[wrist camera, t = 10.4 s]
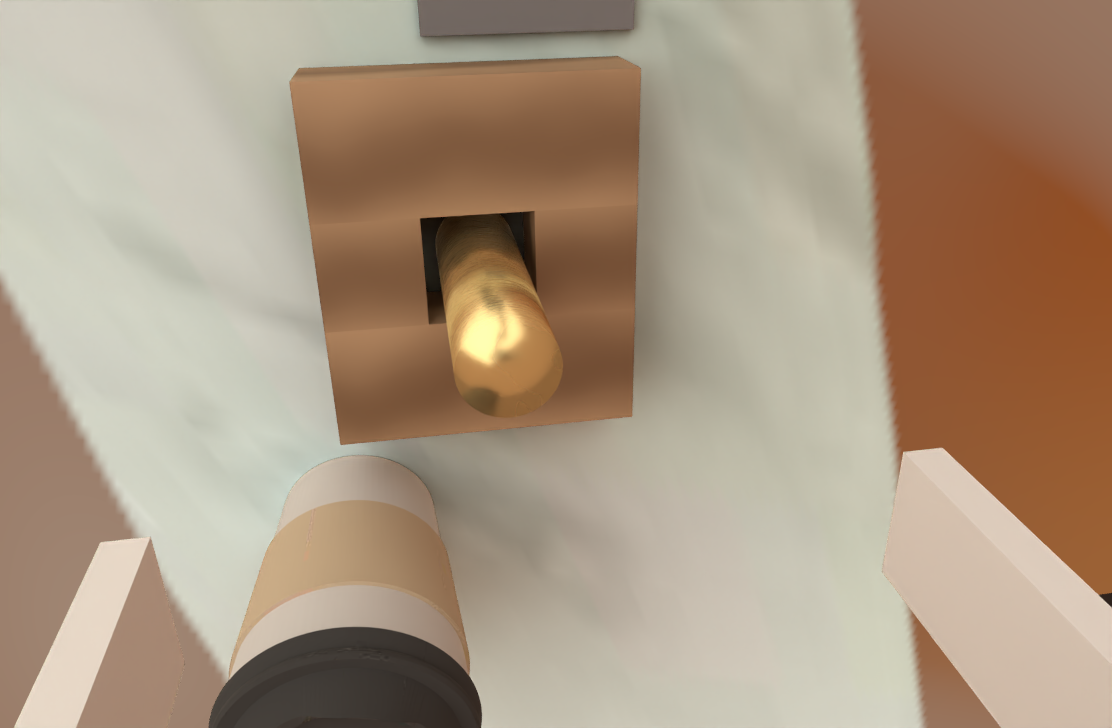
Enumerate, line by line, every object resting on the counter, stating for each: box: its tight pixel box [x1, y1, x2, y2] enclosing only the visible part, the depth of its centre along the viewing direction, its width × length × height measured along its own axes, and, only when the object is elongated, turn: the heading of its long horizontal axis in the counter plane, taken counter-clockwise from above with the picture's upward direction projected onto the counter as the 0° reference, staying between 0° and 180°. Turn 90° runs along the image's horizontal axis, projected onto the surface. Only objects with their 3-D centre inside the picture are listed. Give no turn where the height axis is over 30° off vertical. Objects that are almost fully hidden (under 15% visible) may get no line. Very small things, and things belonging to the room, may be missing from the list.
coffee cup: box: [209, 455, 482, 728], centre depth 35 cm, size 9×9×15 cm
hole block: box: [289, 56, 641, 445], centre depth 35 cm, size 14×12×4 cm
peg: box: [435, 213, 563, 418], centre depth 31 cm, size 3×3×12 cm
